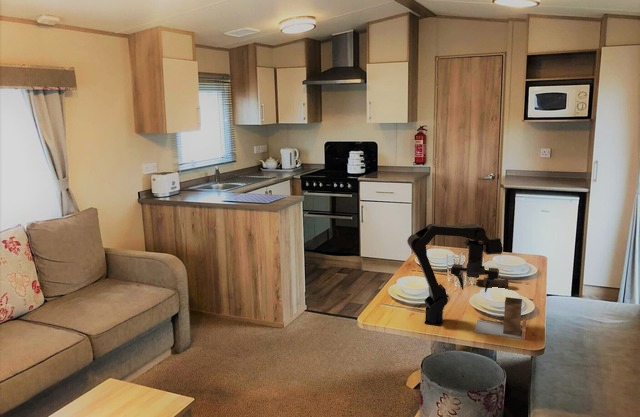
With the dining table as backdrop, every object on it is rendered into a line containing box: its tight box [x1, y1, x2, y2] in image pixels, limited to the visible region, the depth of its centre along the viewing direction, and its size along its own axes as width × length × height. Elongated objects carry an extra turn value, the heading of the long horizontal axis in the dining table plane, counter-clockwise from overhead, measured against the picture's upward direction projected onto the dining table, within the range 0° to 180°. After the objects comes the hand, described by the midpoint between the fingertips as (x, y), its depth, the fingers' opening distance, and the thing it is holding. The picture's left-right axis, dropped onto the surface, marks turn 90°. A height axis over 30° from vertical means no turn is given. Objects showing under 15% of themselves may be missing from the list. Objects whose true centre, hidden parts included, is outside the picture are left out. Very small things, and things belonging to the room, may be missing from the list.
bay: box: [473, 318, 527, 341], centre depth 205 cm, size 19×12×4 cm, turn 67°
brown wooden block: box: [503, 296, 523, 336], centre depth 202 cm, size 6×6×13 cm
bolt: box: [475, 277, 509, 289], centre depth 252 cm, size 6×5×15 cm
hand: (474, 290), depth 214 cm, fingers open, 9 cm apart
